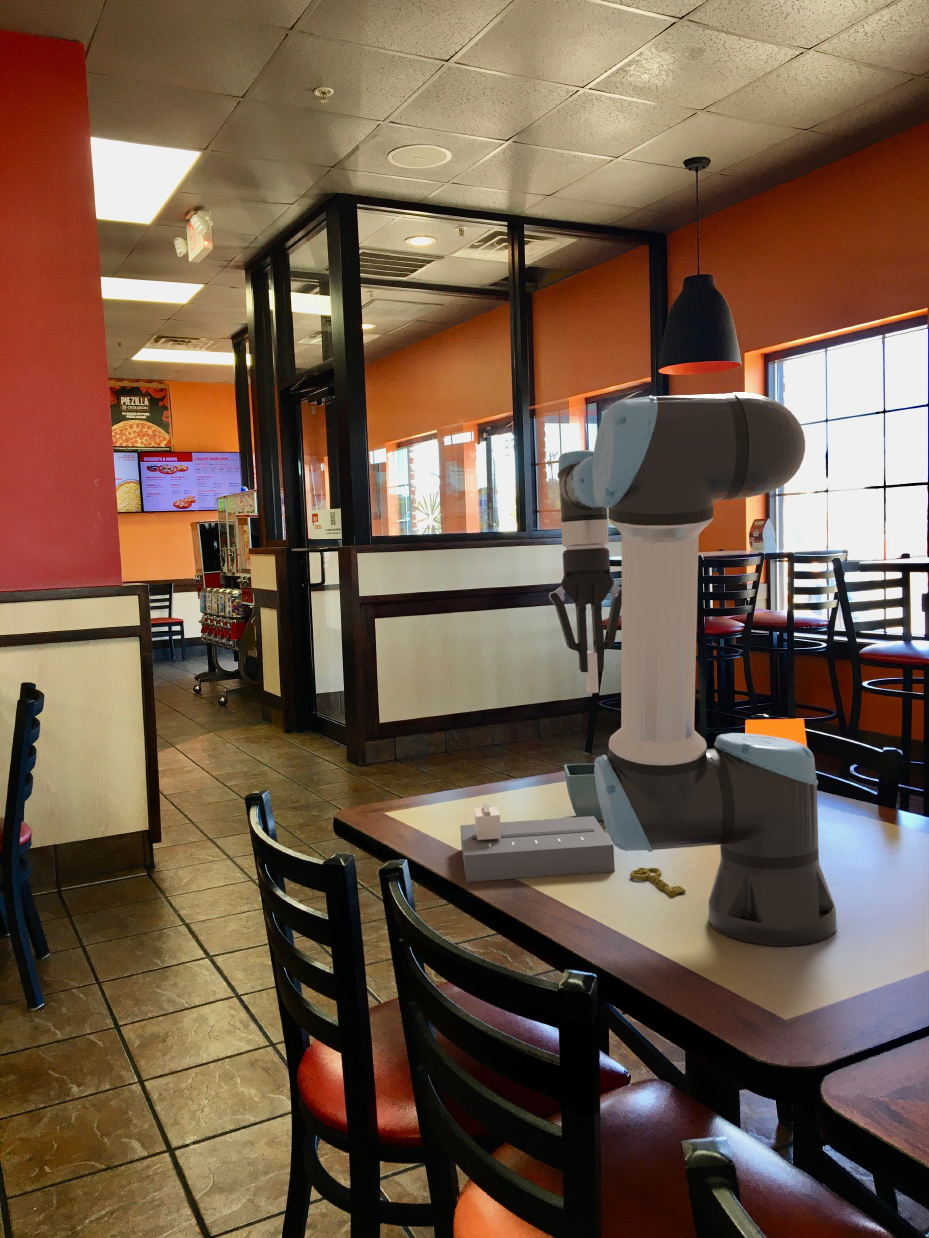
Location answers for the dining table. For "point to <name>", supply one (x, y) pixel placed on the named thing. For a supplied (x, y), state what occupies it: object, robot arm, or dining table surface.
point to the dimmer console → (538, 849)
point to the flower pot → (583, 790)
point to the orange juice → (778, 729)
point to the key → (656, 880)
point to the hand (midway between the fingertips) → (592, 691)
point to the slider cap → (487, 822)
